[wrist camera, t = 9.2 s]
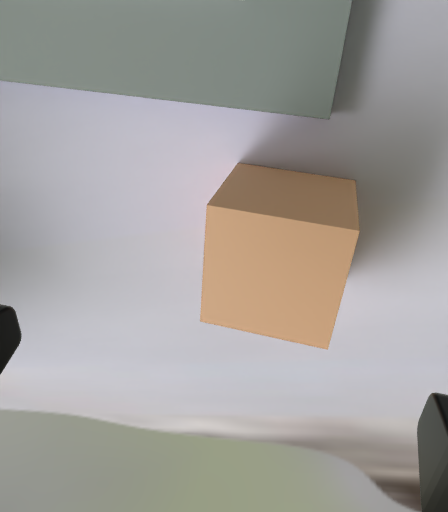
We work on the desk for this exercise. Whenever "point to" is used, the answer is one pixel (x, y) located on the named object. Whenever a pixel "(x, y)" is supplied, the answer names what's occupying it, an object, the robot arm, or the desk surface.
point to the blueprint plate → (181, 50)
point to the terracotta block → (278, 253)
